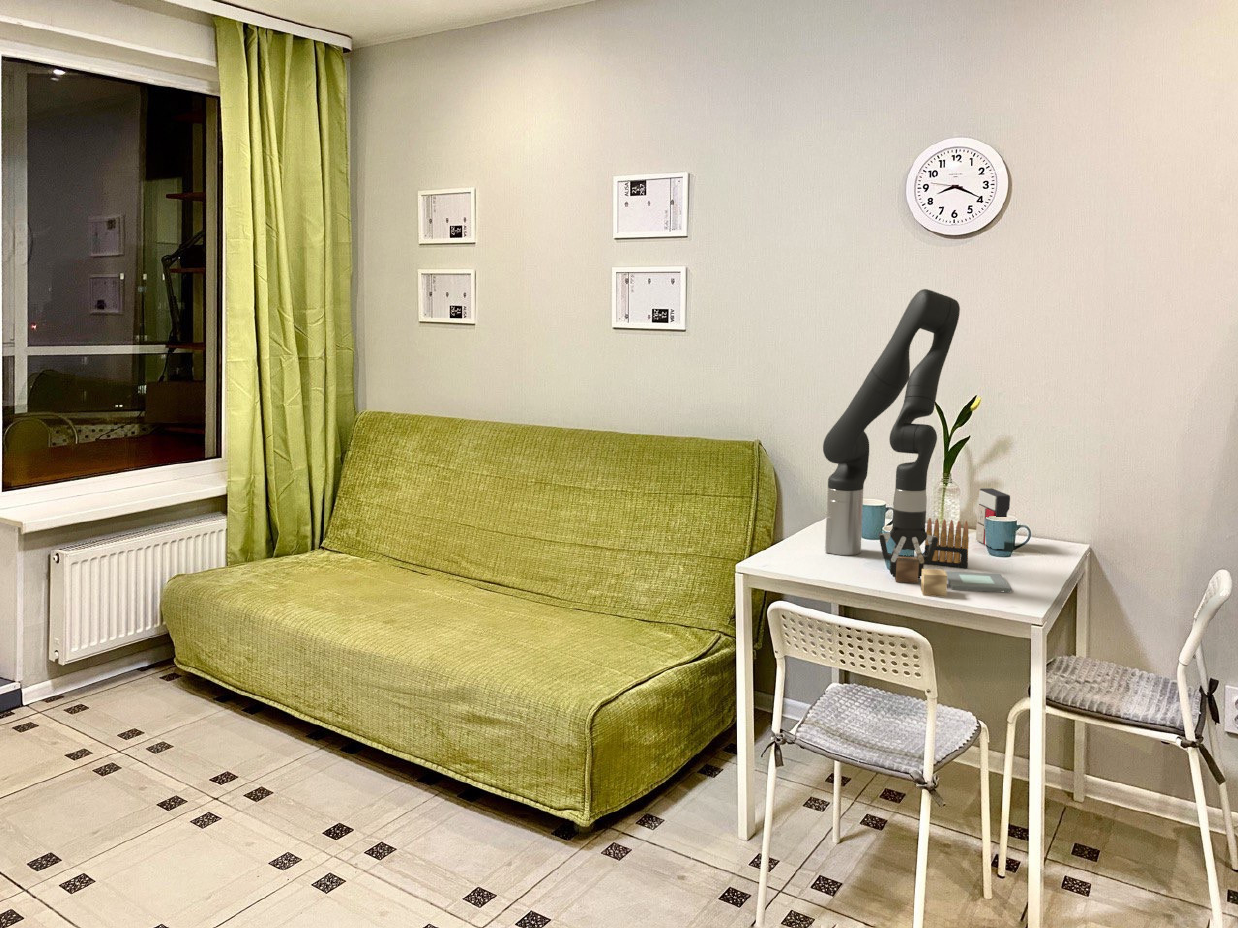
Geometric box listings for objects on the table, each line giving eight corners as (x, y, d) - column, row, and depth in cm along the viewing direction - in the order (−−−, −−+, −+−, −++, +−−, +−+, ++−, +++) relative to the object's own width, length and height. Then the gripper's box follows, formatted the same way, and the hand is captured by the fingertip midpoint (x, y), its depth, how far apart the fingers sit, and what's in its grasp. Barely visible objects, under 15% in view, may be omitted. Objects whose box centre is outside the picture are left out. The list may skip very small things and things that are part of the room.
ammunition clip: (968, 567, 255) (970, 520, 253) (967, 569, 253) (970, 522, 251) (924, 562, 259) (926, 516, 257) (923, 564, 258) (925, 518, 256)
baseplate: (951, 589, 235) (951, 585, 234) (944, 575, 247) (944, 570, 247) (1010, 592, 232) (1010, 587, 232) (1000, 577, 245) (1000, 573, 245)
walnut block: (896, 581, 241) (897, 561, 240) (894, 576, 245) (895, 556, 245) (917, 582, 240) (918, 562, 239) (915, 577, 244) (916, 557, 244)
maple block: (923, 595, 230) (924, 574, 229) (920, 589, 235) (921, 568, 234) (946, 596, 229) (947, 575, 228) (943, 590, 234) (944, 569, 233)
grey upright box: (974, 541, 283) (977, 488, 281) (988, 540, 283) (992, 488, 281) (991, 550, 272) (994, 495, 270) (1006, 550, 273) (1010, 495, 270)
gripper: (879, 509, 237) (876, 579, 240) (943, 511, 235) (939, 582, 237) (877, 503, 245) (874, 571, 247) (939, 505, 242) (935, 574, 245)
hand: (906, 576), depth 242 cm, fingers closed on walnut block, 5 cm apart
